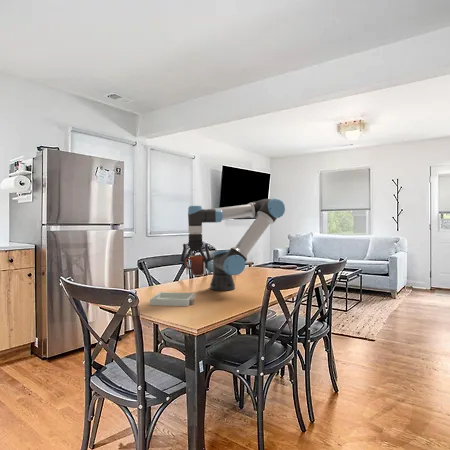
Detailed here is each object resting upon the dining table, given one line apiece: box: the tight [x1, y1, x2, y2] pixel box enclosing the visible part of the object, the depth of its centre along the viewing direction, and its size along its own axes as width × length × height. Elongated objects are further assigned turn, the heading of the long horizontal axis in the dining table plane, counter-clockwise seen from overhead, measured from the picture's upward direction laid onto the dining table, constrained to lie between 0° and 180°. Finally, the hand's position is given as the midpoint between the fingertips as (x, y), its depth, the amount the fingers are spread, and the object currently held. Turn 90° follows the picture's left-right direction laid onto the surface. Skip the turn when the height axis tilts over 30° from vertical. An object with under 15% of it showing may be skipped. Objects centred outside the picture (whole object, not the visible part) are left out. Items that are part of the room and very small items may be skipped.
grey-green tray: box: [149, 291, 195, 307], centre depth 182 cm, size 21×17×3 cm
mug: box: [184, 254, 205, 276], centre depth 197 cm, size 12×9×10 cm
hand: (196, 274), depth 197 cm, fingers closed on mug, 9 cm apart
